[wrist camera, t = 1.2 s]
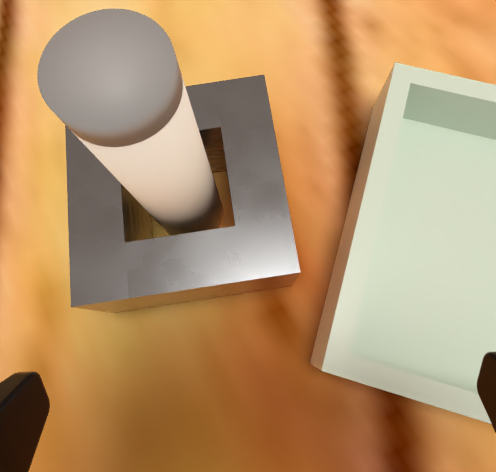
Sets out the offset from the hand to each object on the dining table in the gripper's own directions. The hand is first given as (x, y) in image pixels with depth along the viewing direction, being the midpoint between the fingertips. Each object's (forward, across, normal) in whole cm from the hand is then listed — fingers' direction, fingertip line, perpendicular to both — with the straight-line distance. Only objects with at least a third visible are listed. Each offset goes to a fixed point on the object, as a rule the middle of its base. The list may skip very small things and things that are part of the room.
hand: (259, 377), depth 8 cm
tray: (+13, -11, +4) cm, 18 cm away
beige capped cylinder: (+15, +4, +2) cm, 16 cm away
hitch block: (+15, +4, +2) cm, 16 cm away
